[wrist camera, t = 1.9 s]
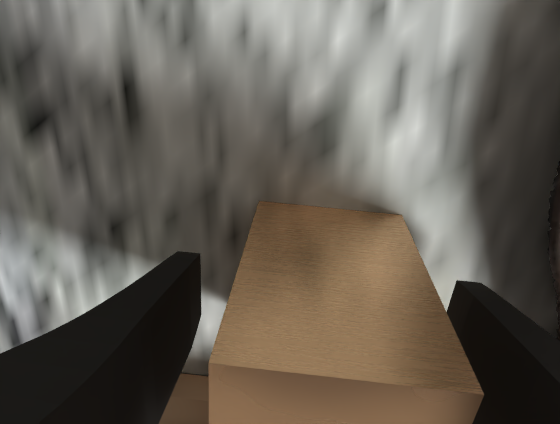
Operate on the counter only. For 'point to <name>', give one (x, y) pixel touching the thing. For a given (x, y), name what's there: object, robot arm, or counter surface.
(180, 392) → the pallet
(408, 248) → the block
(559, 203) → the food plate
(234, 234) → the counter surface
